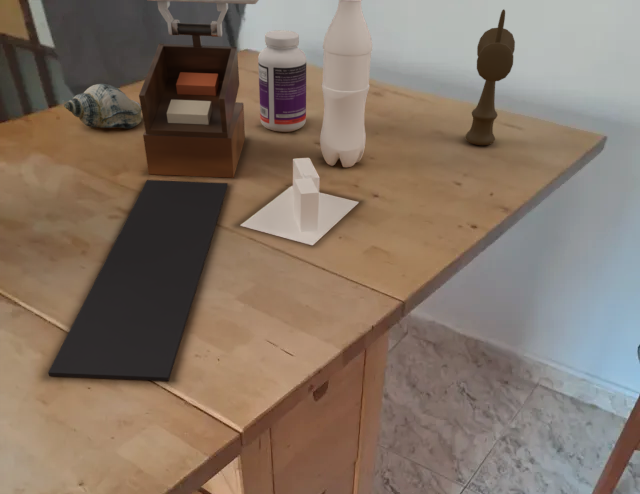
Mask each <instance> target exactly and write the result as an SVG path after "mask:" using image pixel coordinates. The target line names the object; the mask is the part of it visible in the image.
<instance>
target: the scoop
mask: <svg viewBox="0 0 640 494" xmlns="http://www.w3.org/2000/svg"><path fill="white" fill-rule="evenodd" d="M210 24H211V23H197V22H196V23H195V22H179V23H178V31H179V35H178V36H191V39H192V44H179V43H177V44H176V43H158V45H157V48H156V51H155V53H154V55H153V57H152V61H151V62H150V65H149V68H148V71H147V74H146V76H145V79H144V82H143V84H142V86H141V88H140V92H139V95H138V98H139V104H140V106H141V109H142V110H141V116H142V119H143V124H144V129H145V130H144V132H145V131H146V134H149V135H173V136H197V137H221V138H228V135H229V130H230V126H231V121H232V116H233V112H234V107H235V102H237V97H238V93H239V88H240V73H239V59H238V58H239V57H238V47H237V46H230V45H229V46H226V45H206V44H205V45H203V43H202V37H212V36H211V32H212V30H211V25H210ZM180 72H187V73H212V74H218V77H219V85H218V89H217V93H216V96H210V95H186V94H177V88H176V83H177V80H178V77H179V74H180ZM171 100H194V101H211V105H212V113H211V117H210V121H209V125H206V124H182V123H168V119H167V111H168V108H169V105H170V102H171Z"/></svg>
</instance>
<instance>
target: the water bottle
mask: <svg viewBox="0 0 640 494" xmlns="http://www.w3.org/2000/svg"><path fill="white" fill-rule="evenodd" d="M362 9H363V8H362V0H338V4H337V8H336V12H335V14H334V15H333V18H332V19H331V22H330V24H329V26H328V28H327V30H326V32H325V35H324V38H323V43H322V49H323V60H322V82H321V90H322V97H323V118H322V125H321V130H320V134H319V146H320V151H321V154H322V157H323V159H324V161H325V163H326V164H327V165H329V166H331V167H333V166H334V165H336V163H337V162H338V160H340V163H341V165H342V167H343V168H351V167H353V166H354V165H356V163H360V161H361V159H362V158H363V156H364V152H365V148H366V139H367V134H366V127H365V111H366V103H367V98H368V94H369V90H370V87H371V85H370V74H371V73H370V72H371V59H372V52H373V40H372V35H371V32H370V29H369V26H368V24H367V21H366V19H365V16H364V14H363V10H362Z"/></svg>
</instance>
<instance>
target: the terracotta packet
mask: <svg viewBox="0 0 640 494" xmlns="http://www.w3.org/2000/svg"><path fill="white" fill-rule="evenodd" d="M218 85H219V77H218V74H212V73H187V72H180V74H179V77H178V80H177V83H176V88H177V94H186V95H210V96H216V93H217V89H218Z"/></svg>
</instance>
